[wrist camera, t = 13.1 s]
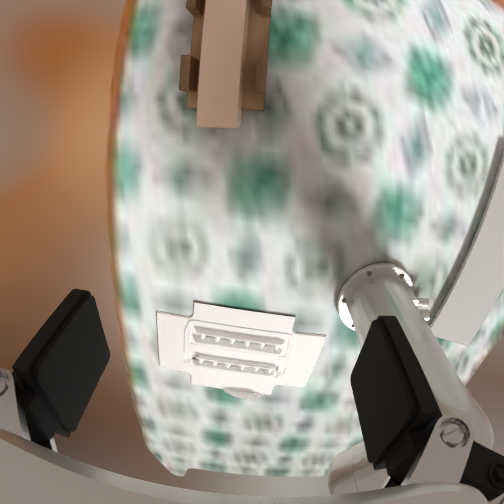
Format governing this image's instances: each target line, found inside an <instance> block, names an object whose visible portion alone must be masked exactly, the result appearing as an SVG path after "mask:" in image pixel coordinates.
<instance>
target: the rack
mask: <svg viewBox="0 0 504 504" xmlns="http://www.w3.org/2000/svg"><path fill="white" fill-rule="evenodd" d="M205 5H206V0H187V4H186V8H187V9H188V10H189V11H190V13H191V14H192V15H193V16H194V22H193V32H192V43H191V55H181V68H180V84H179V90H182V91H187V92H188V104H187V108H197V102H198V85H199V70H200V57H201V45H202V34H203V24H204V14H205ZM271 5H272V0H251V2H250V13H249V25H248V37H247V49H246V62H245V75H244V88H243V102H242V109H251V110H264V99H265V86H266V72H267V59H268V45H269V32H270V19H271Z"/></svg>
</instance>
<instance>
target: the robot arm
mask: <svg viewBox="0 0 504 504" xmlns="http://www.w3.org/2000/svg"><path fill="white" fill-rule="evenodd" d="M413 290H414V288H413V283H412V281H411V278H410V277H409V275H408V274H407V272H406V271H405V270H403V269H402V268H401V267H399V266H397V265H395V264H391V263H375V264H372V265H368V266H366V267H364V268H362V269H360V270H359V271H357V272H356V273H354V274H353V275H352V276H351V277H350V278H349V279H348V280H347V281H346V282H345V284H344V285H343V287H342V289H341V290H340V293H339V296H338V301H337V308H338V313H339V316H340V318H341V320H342V322H343V323H344V324H345V325H346V326H347V327H349V328H350V329H352V330H355V331H356V334H357V337H358V340H359V343H360V346H361V352H360V354H359V357H358V359H357V361H356V364H355V366H354V369H353V371H352V374H351V386H352V390H353V394H354V399H355V403H356V407H357V412H358V416H359V421H360V425H361V430H362V435H363V440H364V441H363V442H361V443H359V444H357V445H355V446H352V447H350V448H348V449H346V450H345V451H343V452H341V453H340V454H338V455H337V456H336V457H335V458H334V459H333V461H332V462H331V464H330V466H329V469H328V474H327V481H328V487H329V491H330V493H331V495H323V496H306V497H258V496H240V495H227V494H217V493H208V492H201V491H193V490H187V489H181V488H176V487H171V486H165V485H161V484H155V483H151V482H147V481H143V480H139V479H135V478H131V477H127V476H124V475H120V474H116V473H113V472H110V471H107V470H103V469H100V468H97V467H94V466H91V465H88V464H86V463H83V462H80V461H77V460H75V459H72V458H69V457H67V456H65V455H62V454H59V453H58V451H57V448H56V445H55V442H54V438H53V437H54V434H55V432H56V433H58V434H60V435H63V436H65V437H68V438H69V436H70V434H71V431H75V430H76V428H77V426H78V424H79V422H80V419H81V417H82V415H83V413H84V411H85V409H86V406H87V404H88V402H89V400H90V398H91V396H92V394H93V392H94V389H95V387H96V385H97V383H98V381H99V379H100V377H101V375H102V373H103V371H104V369H105V367H106V365H107V363H108V361H109V358H110V351H109V348H108V345H107V341H106V338H105V335H104V331H103V328H102V324H101V321H100V317H99V313H98V309H97V306H96V302H95V298H94V296H91V293H90V292H89V291H86V290H80V289H73V290H72V291H71V292H70V293H69V294H68V295H67V297H66V298H65V299H64V300H63V301H62V303H61V304H60V305H59V306H58V307H57V309H56V310H55V311H54V312H53V314H52V315H51V316H50V317H49V318H48V320H47V321H46V322H45V323H44V325H43V326H42V327H41V328H40V330H39V331H38V332H37V334H36V335H35V336H34V338H33V339H32V340H31V341H30V343H29V344H28V345H27V347H26V348H25V349H24V351H23V352H22V354H21V355H20V356H19V358H18V359H17V360H16V362H15V364H14V365H13V366H12V368H13V369H14V371H13V373H12V374H11V373H10V371H8V370H6V369H3V368H0V504H504V456H502V455H500V454H498V453H496V452H494V451H492V446H493V439H494V438H493V431H492V427H491V425H490V422H489V420H488V419H487V417H486V415H485V414H484V412H483V410H482V409H481V408H480V406H479V405H478V404H477V402H476V401H475V400H474V398H473V397H472V396H471V394H470V393H469V392H468V390H467V389H466V388H465V386H464V384H463V383H462V381H461V380H460V379H459V377H458V375H457V374H456V372H455V370H454V368H453V367H452V365H451V363H450V362H449V360H448V358H447V356H446V355H445V353H444V351H443V349H442V348H441V346H440V344H439V343H438V341H437V339H436V337H435V336H434V334H433V332H432V331H431V329H430V327H429V326H428V324H427V322H426V321H428V320H429V319H430V311H429V310H428V309H418V308H417V306H420V307H427V306H428V305H429V299H428V298H417V297H416V296H415V295H414V293H413Z"/></svg>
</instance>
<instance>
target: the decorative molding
mask: <svg viewBox="0 0 504 504" xmlns="http://www.w3.org/2000/svg"><path fill="white" fill-rule="evenodd" d="M503 287H504V149H503V153H502V157H501V160H500V164H499V167H498V171H497V174H496V178H495V181H494V184H493V187H492V190H491V193H490V196H489V199H488V202H487V205H486V208H485V211H484V213H483V216H482V219H481V221H480V224H479V226H478V229H477V231H476V234H475V236H474V239H473V241H472V243H471V246H470V248H469V250H468V252H467V255H466V257H465V259H464V261H463V263H462V266H461V268H460V270H459V272H458V274H457V276H456V278H455V280H454V282H453V284H452V286H451V288H450V290H449V292H448V294H447V296H446V297H445V299H444V301H443V303H442V305H441V307H440V308H439V310H438V312H437V314H436V315H435V317H434V319H433V321H432V322H431V324H430V326H429V327H430V329H431V331H432V332H433V334H434V336H435V337H439V338H442V339H445V340H449V341H452V342H456V343H459V344H462V345H466V346H468V345H469V344H470V342H471V341H472V339H473V338H474V336H475V335H476V333H477V331H478V330H479V328H480V327H481V325H482V324H483V322H484V320H485V319H486V317H487V315H488V314H489V312H490V310H491V308H492V307H493V305H494V303H495V301H496V300H497V298H498V296H499V294H500V292H501V290H502V289H503Z"/></svg>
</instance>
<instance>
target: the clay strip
mask: <svg viewBox="0 0 504 504" xmlns="http://www.w3.org/2000/svg"><path fill="white" fill-rule="evenodd" d="M250 2H251V0H206V5H205V14H204V24H203V34H202V45H201V57H200V70H199V85H198V102H197V122H196V127H215V128H238V127H239V126H241V117H242V102H243V88H244V75H245V62H246V49H247V37H248V25H249V13H250Z"/></svg>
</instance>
